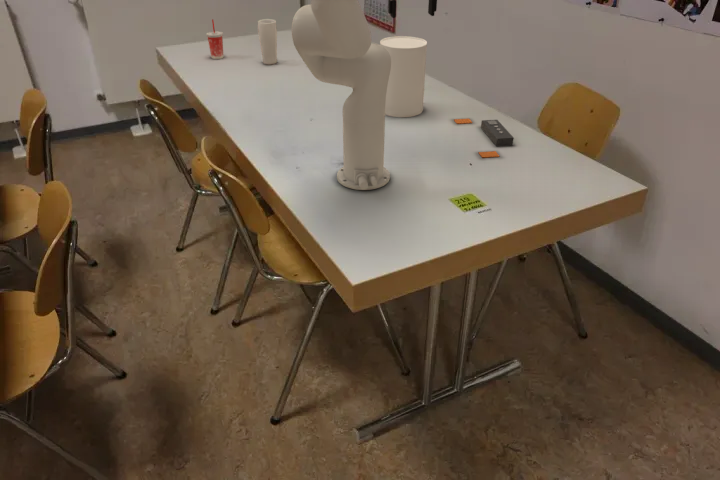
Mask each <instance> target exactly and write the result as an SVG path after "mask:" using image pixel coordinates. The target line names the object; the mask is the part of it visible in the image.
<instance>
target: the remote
mask: <svg viewBox="0 0 720 480" xmlns="http://www.w3.org/2000/svg"><path fill="white" fill-rule="evenodd" d="M480 128H481V130H482V131H483V132H484V133H485V134H486V136H487V137H488V138H489V140H490V141H491V142H492V143H493V144H494V145H495V147H506V146H507V147H508V146H513V145H514V140H515V138H514V136H513V135H512V134H511V133H510V131H508V130H507V128H505V127H504V125H503V124H502V123H501V122H500V121H499V120H498V119H483V120H481V122H480Z"/></svg>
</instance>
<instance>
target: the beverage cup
mask: <svg viewBox="0 0 720 480" xmlns="http://www.w3.org/2000/svg"><path fill="white" fill-rule="evenodd" d="M214 21H215V20H214V19H213V18H212V19H211V22H212V31H209V32H206V34H205V35H206V37H207V43H208V47H209V52H210V57H211V59H212V60H221V59H224V55H225V54H224V41H223V40H224V39H223V36H224V33H223V32H222V31H216V29H215V22H214Z"/></svg>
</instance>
